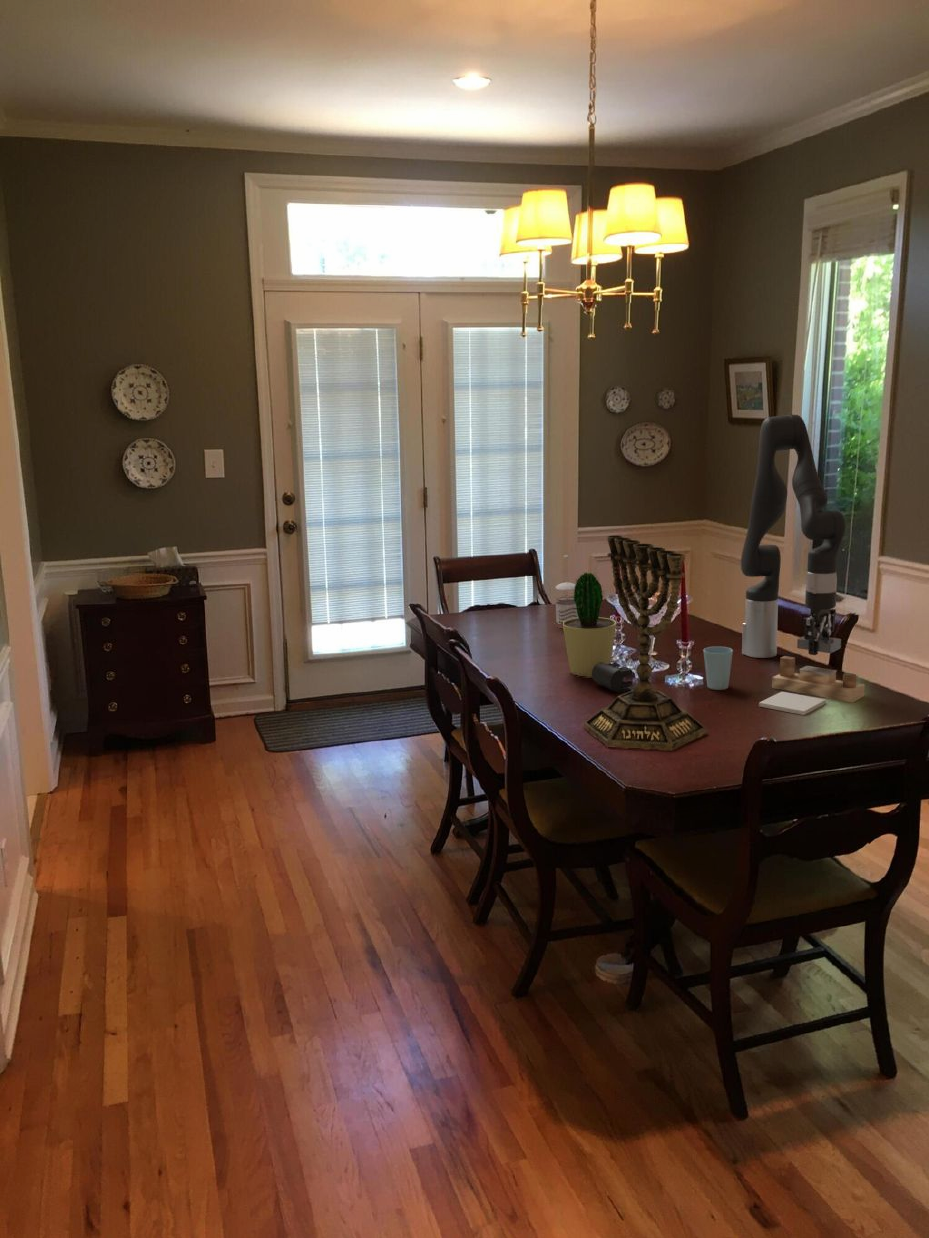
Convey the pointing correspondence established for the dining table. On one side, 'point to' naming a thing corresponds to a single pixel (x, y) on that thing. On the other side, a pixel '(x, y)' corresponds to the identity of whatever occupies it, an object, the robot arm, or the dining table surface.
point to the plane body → (817, 682)
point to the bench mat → (792, 703)
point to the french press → (565, 601)
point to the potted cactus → (588, 628)
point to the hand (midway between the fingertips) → (818, 651)
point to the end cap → (612, 677)
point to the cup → (718, 667)
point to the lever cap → (821, 644)
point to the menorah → (645, 654)
